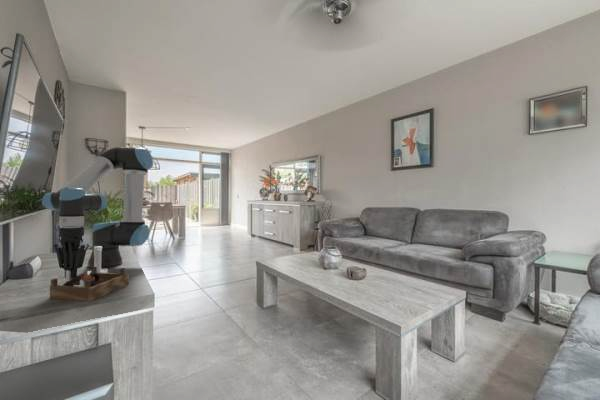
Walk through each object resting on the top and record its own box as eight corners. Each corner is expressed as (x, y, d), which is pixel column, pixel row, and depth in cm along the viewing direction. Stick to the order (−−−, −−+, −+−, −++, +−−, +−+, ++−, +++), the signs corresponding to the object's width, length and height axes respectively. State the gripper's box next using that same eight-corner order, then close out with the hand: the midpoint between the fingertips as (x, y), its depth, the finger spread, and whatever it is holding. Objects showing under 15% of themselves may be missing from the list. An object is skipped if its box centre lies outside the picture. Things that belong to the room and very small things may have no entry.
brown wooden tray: (92, 282, 112) (93, 266, 112) (128, 284, 111) (128, 268, 111) (49, 298, 94) (50, 279, 94) (91, 300, 93) (91, 281, 93)
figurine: (107, 275, 122) (107, 244, 122) (107, 281, 115) (108, 247, 115) (87, 278, 118) (87, 245, 118) (86, 284, 110) (87, 248, 110)
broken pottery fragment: (84, 298, 96) (71, 280, 95) (67, 306, 98) (53, 289, 97) (111, 280, 108) (99, 264, 106) (94, 288, 110) (82, 272, 108)
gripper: (46, 227, 100) (45, 288, 100) (78, 228, 99) (77, 290, 99) (65, 225, 107) (64, 282, 107) (95, 226, 106) (94, 283, 106)
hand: (70, 285), depth 103 cm, fingers closed
